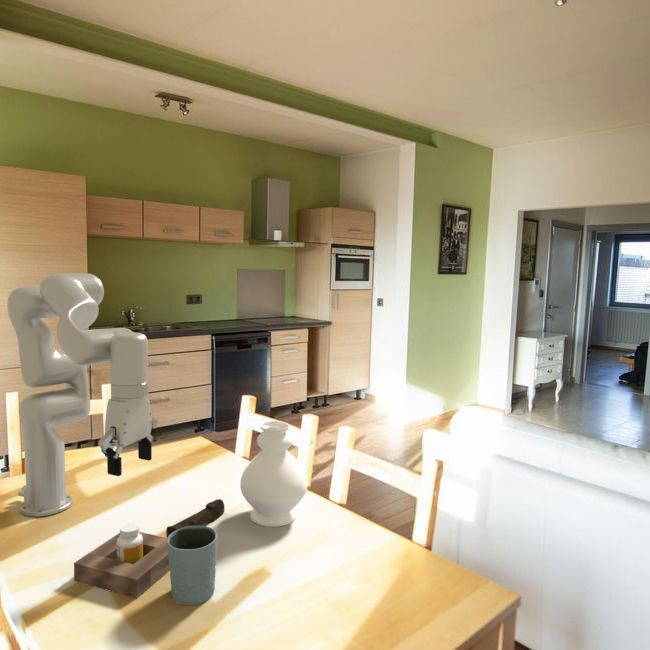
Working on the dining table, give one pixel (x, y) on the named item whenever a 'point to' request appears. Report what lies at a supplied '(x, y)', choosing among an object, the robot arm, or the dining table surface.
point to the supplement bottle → (130, 544)
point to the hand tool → (200, 516)
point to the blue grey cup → (192, 564)
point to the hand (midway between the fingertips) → (130, 466)
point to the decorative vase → (274, 478)
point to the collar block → (124, 567)
